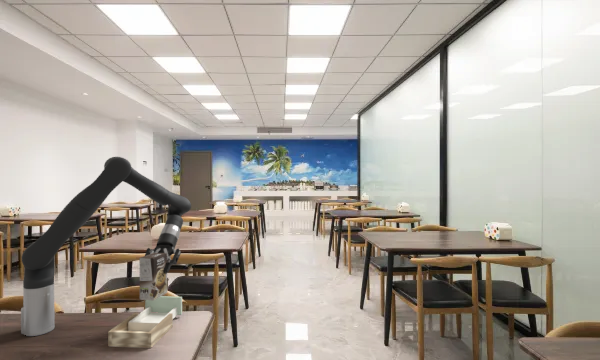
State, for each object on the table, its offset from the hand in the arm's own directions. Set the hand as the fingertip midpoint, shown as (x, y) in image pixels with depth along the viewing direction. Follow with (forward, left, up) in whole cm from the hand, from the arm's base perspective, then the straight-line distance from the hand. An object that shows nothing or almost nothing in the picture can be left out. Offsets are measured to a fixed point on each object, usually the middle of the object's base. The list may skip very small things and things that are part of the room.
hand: (156, 272), depth 136 cm
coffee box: (0, -1, -9) cm, 9 cm away
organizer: (0, -11, -20) cm, 23 cm away
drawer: (0, -1, -19) cm, 19 cm away
